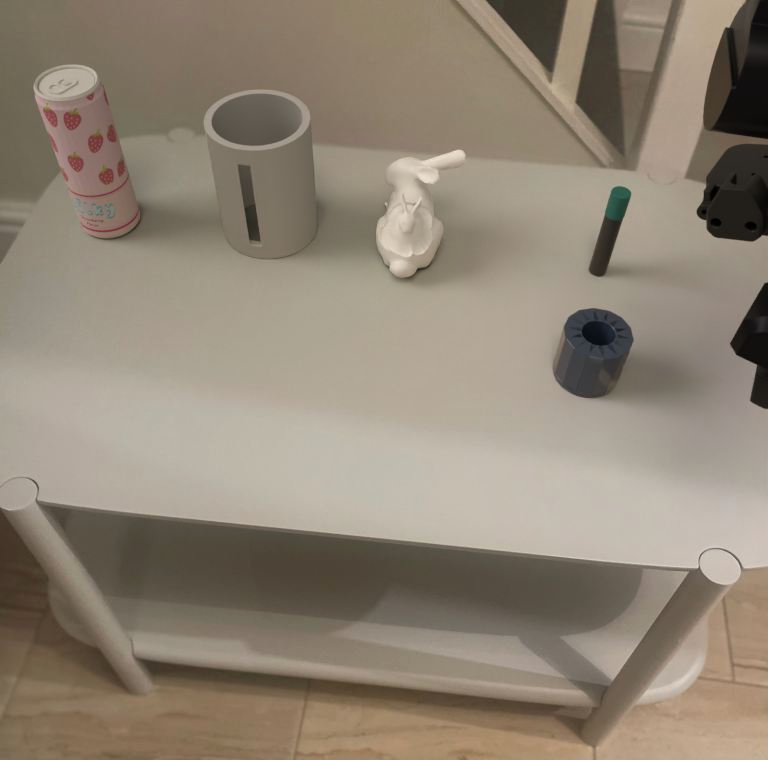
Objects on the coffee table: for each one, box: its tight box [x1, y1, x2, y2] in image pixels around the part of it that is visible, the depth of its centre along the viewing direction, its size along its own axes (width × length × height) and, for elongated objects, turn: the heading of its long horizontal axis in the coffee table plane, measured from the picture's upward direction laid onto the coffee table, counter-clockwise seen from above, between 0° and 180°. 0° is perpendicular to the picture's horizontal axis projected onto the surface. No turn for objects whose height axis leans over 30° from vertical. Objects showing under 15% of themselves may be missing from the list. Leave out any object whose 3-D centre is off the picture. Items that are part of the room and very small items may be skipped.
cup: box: [203, 88, 319, 260], centre depth 73 cm, size 9×9×12 cm
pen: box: [588, 186, 632, 277], centre depth 71 cm, size 2×2×9 cm
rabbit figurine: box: [375, 149, 467, 279], centre depth 72 cm, size 12×8×10 cm, turn 173°
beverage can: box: [33, 63, 141, 239], centre depth 72 cm, size 6×6×15 cm
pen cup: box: [552, 307, 635, 399], centre depth 65 cm, size 5×6×5 cm
